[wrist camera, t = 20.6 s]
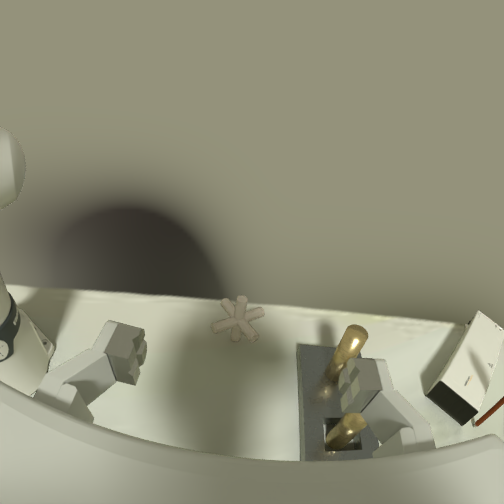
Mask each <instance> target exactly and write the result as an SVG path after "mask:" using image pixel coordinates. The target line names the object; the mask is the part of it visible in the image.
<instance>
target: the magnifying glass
mask: <svg viewBox="0 0 504 504" xmlns="http://www.w3.org/2000/svg"><path fill="white" fill-rule="evenodd" d="M503 404H504V397H503V398H502V399H500V400H499V401H498V402H497V403H496V404H495V405H494V406H493V407H492V408H491V409H490V410H489V411H488V412H486V413H485V414H484V415H483V416H482V417H481V418H480V419H479V420H477V421H476V422H475V424H474V427H476V426H479V425H480V424H481V423H483V422H484V421H485V420H486V419H487V418H488V417H489V416H491V415H492V414H493V413H494V412H495V411H496V410H497V409H498V408H500V407H501V406H502V405H503Z"/></svg>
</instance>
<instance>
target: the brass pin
mask: <svg viewBox="0 0 504 504" xmlns="http://www.w3.org/2000/svg"><path fill="white" fill-rule="evenodd" d="M360 414H361V413H345V414H344V416H343V417H342V418H341V419H340V420H339V422H338V423H337V424H336V425H335V426H334V427H333V428H332V430H331V431H330V432H329V433H328V434H327V436H326V443H327V445H328V446H329V447H330V448H332V449H336V450H338V449H342V448H343V447H344V446H346V445H347V444H348V443H349V442H350V441H351V440H352V439H353V438H354V437H355V436H356V435H357V434H358V433H359V432H360V431H361V430H362V429H363V428H364V427H365V426H366V425H367V423H366V422H365V420H364V419H363V417H362V416H361V415H360Z"/></svg>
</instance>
